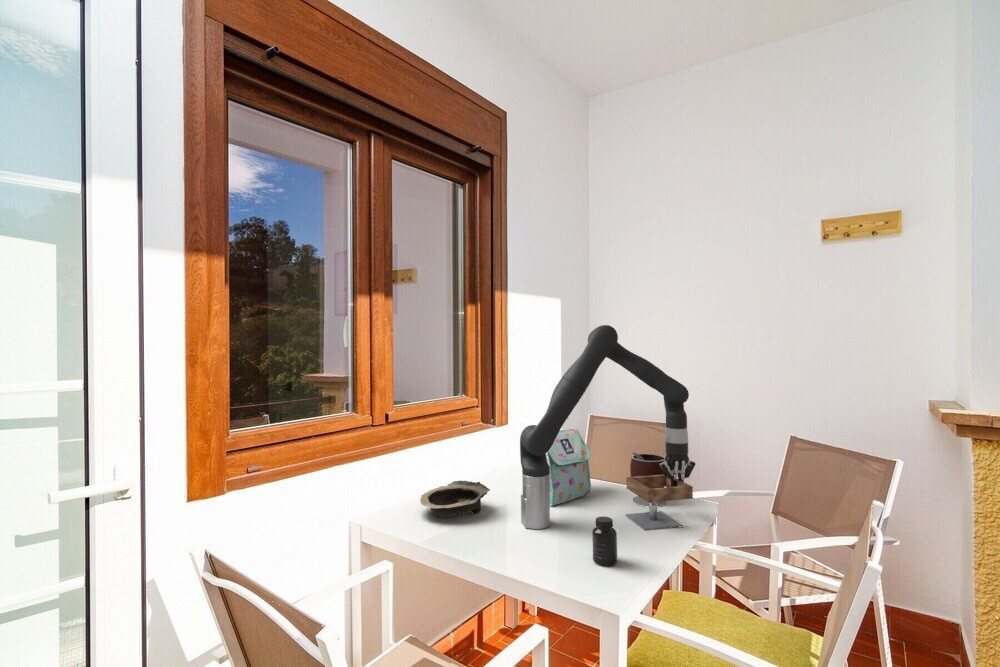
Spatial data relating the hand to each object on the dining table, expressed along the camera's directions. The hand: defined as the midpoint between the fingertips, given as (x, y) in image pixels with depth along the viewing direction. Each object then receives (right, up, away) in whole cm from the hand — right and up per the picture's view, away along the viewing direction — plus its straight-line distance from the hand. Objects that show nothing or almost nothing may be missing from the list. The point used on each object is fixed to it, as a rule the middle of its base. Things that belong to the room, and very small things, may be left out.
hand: (677, 490), depth 178 cm
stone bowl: (-79, -11, +8) cm, 80 cm away
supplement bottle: (-32, -10, -33) cm, 48 cm away
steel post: (-9, -10, -2) cm, 14 cm away
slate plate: (-9, -10, -2) cm, 14 cm away
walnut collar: (-7, -1, -2) cm, 7 cm away
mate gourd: (-5, -10, +18) cm, 22 cm away
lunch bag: (-38, -11, +25) cm, 47 cm away
